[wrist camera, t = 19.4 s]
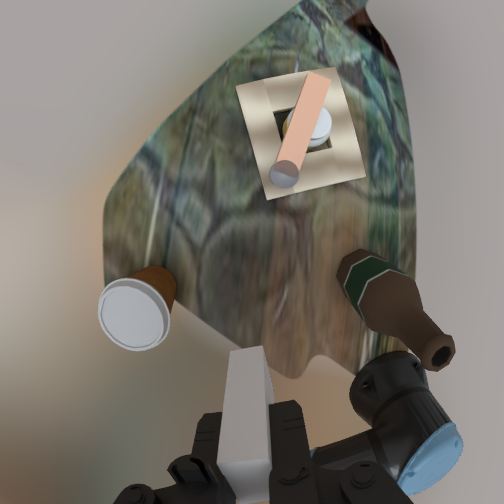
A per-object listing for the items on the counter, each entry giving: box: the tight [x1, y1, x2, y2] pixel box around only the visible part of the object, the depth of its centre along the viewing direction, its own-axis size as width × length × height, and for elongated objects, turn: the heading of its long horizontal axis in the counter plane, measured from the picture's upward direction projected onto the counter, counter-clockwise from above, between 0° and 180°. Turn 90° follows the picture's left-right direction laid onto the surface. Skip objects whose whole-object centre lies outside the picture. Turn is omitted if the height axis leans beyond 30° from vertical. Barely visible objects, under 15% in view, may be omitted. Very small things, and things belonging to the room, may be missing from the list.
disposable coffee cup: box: [98, 265, 177, 351], centre depth 39 cm, size 10×10×12 cm
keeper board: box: [236, 67, 366, 200], centre depth 35 cm, size 16×14×10 cm
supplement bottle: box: [282, 107, 332, 150], centre depth 35 cm, size 5×5×10 cm
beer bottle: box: [337, 249, 455, 372], centre depth 33 cm, size 8×8×24 cm
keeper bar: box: [269, 71, 331, 189], centre depth 29 cm, size 12×3×2 cm, turn 161°
